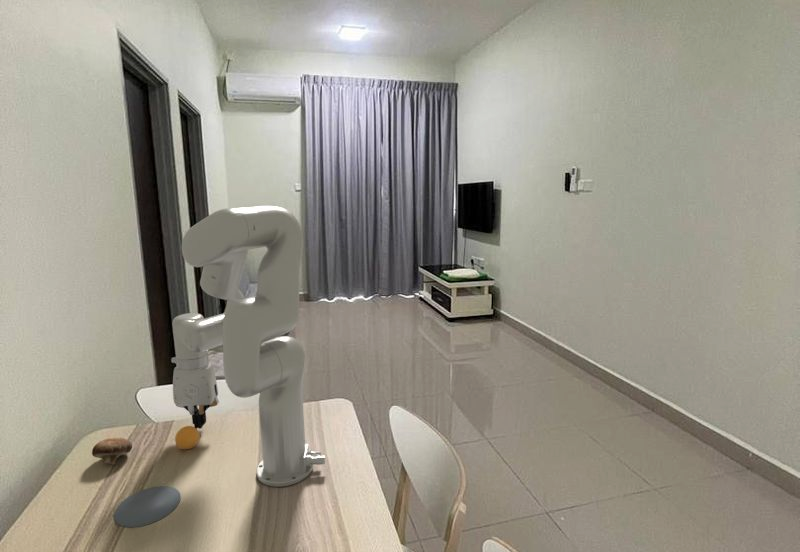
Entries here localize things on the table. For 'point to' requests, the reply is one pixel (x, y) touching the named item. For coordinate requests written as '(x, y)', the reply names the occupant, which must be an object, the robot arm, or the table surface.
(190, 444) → the ball
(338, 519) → the table surface
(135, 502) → the disc
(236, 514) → the table surface
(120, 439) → the mushroom
